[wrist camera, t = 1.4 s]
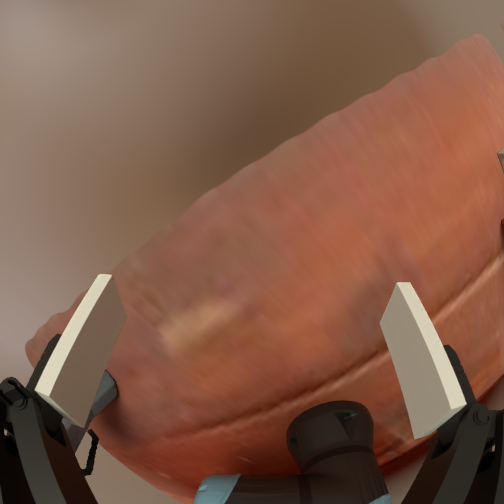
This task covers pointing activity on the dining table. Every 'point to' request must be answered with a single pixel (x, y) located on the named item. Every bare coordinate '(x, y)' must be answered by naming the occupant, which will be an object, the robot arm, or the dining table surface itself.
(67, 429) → the moka pot
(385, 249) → the dining table surface
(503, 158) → the carton
